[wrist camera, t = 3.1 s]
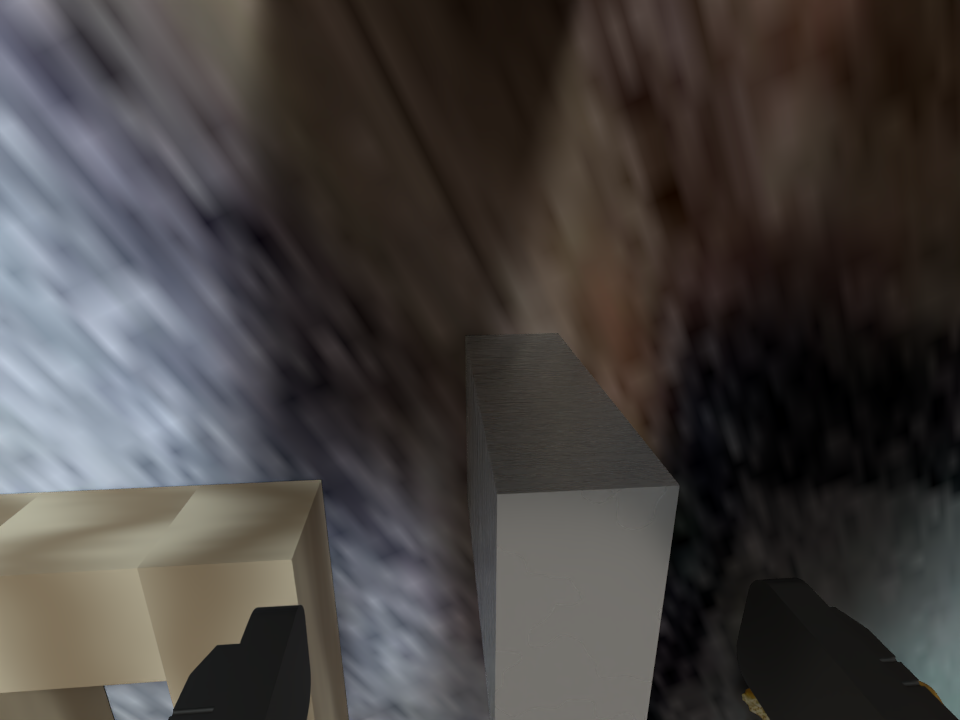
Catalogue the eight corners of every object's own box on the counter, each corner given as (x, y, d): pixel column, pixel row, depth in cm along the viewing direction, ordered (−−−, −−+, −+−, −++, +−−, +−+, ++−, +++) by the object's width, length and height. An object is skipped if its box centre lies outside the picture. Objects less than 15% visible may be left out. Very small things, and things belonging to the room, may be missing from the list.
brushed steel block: (558, 333, 17) (679, 485, 9) (550, 492, 19) (643, 745, 11) (465, 335, 17) (496, 494, 8) (467, 497, 19) (494, 758, 10)
